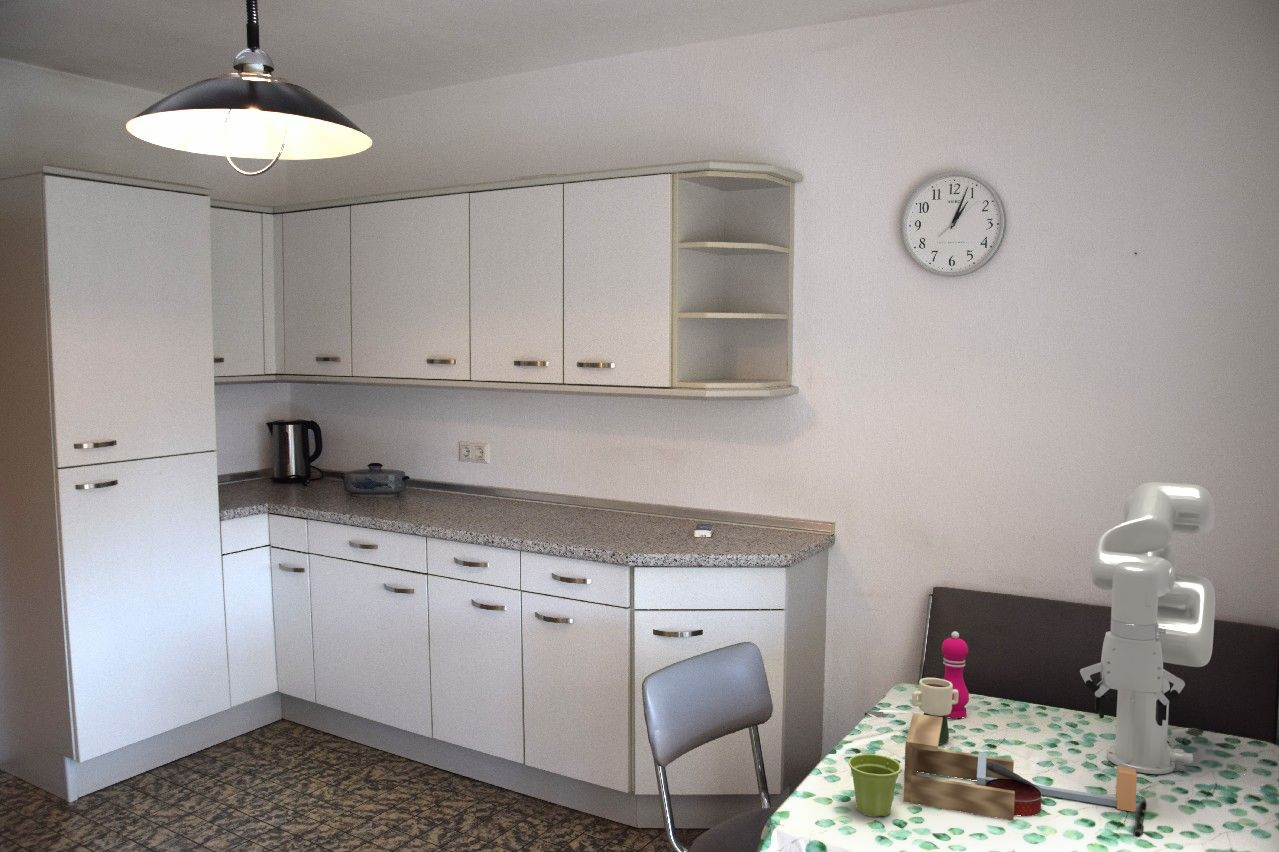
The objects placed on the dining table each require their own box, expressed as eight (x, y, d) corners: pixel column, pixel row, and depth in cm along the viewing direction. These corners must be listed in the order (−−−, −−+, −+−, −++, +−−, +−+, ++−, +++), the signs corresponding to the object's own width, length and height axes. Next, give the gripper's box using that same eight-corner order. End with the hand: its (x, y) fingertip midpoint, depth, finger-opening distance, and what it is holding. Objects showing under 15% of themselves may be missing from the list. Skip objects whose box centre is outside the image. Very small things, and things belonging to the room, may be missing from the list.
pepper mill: (970, 721, 219) (973, 636, 218) (938, 718, 221) (941, 634, 220) (966, 710, 227) (969, 628, 226) (934, 708, 228) (937, 626, 227)
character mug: (948, 733, 212) (950, 676, 211) (964, 745, 205) (967, 686, 204) (903, 735, 210) (905, 678, 209) (918, 748, 203) (920, 688, 202)
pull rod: (1133, 805, 176) (1134, 768, 176) (1143, 838, 163) (1145, 798, 163) (977, 780, 186) (978, 745, 186) (975, 809, 173) (977, 772, 173)
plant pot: (890, 827, 166) (892, 779, 166) (839, 813, 171) (841, 766, 171) (906, 807, 174) (907, 761, 174) (856, 794, 179) (858, 749, 179)
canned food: (983, 821, 179) (972, 766, 184) (1036, 817, 179) (1024, 762, 183) (999, 818, 169) (987, 760, 173) (1056, 814, 169) (1042, 756, 173)
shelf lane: (1012, 785, 185) (1015, 727, 184) (1013, 820, 169) (1016, 758, 169) (911, 768, 192) (913, 713, 191) (903, 801, 176) (905, 741, 176)
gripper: (1183, 628, 174) (1179, 718, 176) (1080, 619, 181) (1077, 706, 182) (1190, 640, 167) (1186, 733, 169) (1083, 630, 174) (1080, 720, 175)
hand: (1129, 719), depth 175 cm, fingers open, 9 cm apart
